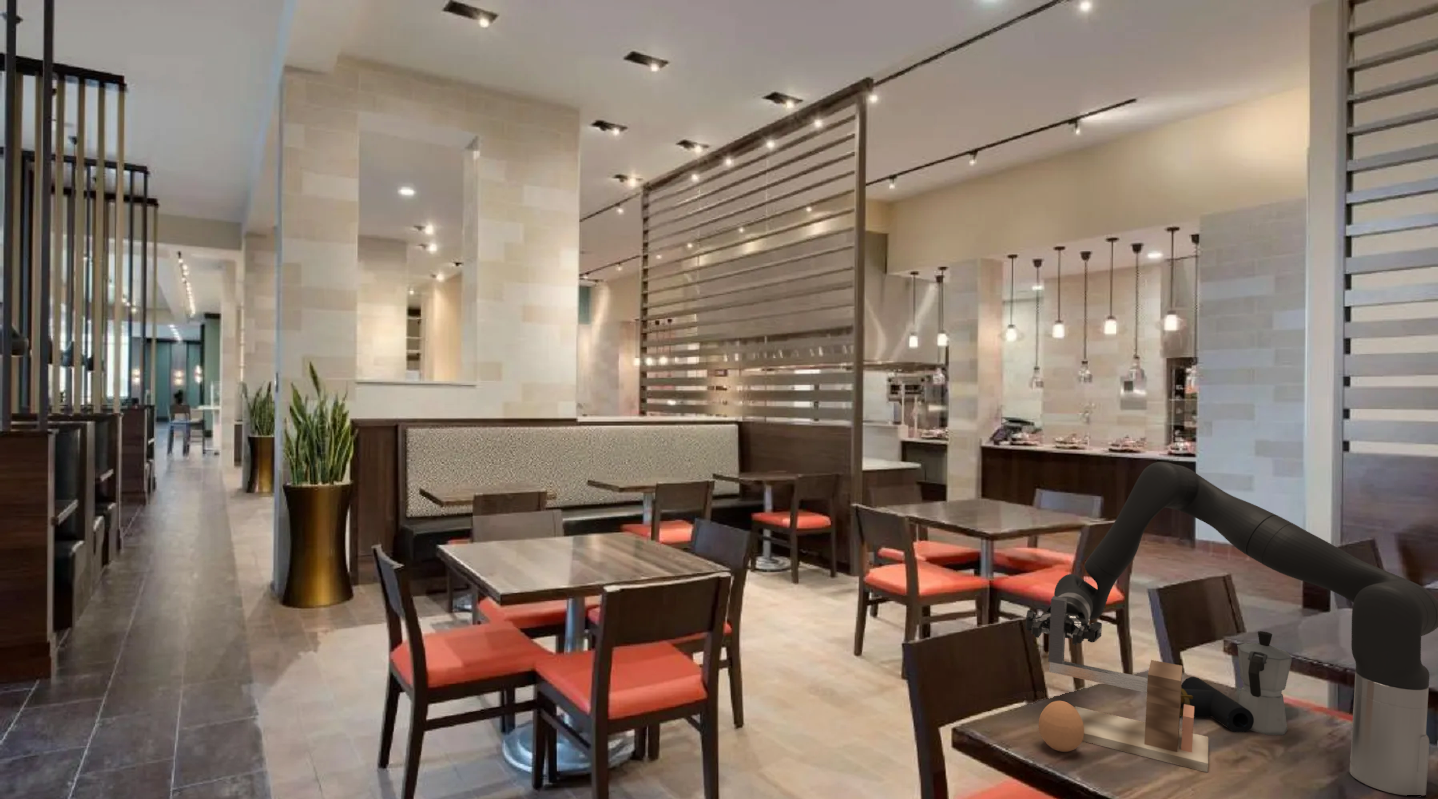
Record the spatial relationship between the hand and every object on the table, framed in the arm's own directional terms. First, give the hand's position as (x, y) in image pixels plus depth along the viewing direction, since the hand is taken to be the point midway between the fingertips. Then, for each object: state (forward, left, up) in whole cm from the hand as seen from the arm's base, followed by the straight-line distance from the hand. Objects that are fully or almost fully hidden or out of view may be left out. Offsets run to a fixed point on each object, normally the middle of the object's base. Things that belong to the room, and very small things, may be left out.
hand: (1055, 635), depth 148 cm
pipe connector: (-23, -23, -17) cm, 37 cm away
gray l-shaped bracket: (-8, -2, -8) cm, 12 cm away
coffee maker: (-33, -24, -17) cm, 44 cm away
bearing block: (-14, -2, -17) cm, 22 cm away
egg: (-3, +10, -17) cm, 20 cm away
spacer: (-22, -2, -15) cm, 27 cm away
